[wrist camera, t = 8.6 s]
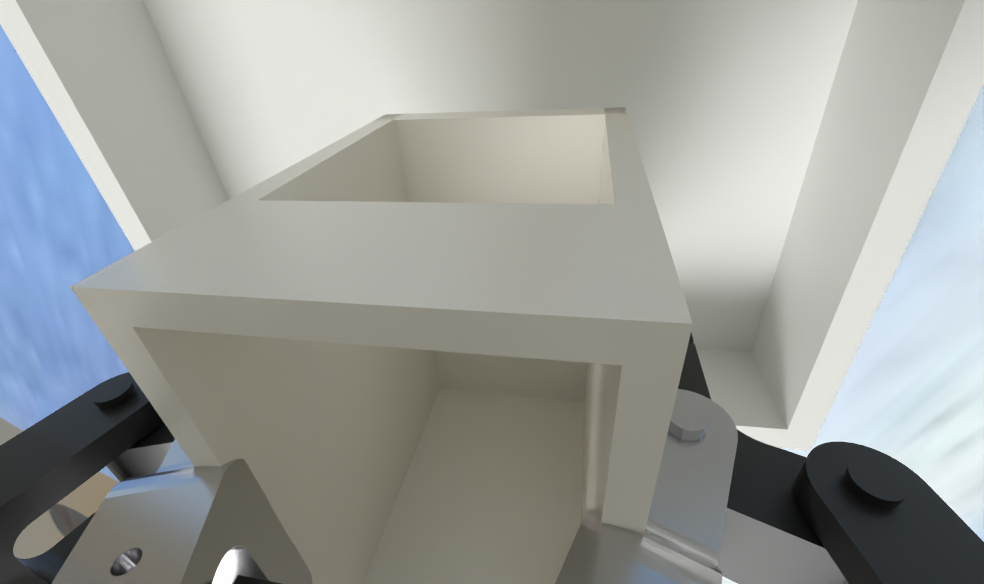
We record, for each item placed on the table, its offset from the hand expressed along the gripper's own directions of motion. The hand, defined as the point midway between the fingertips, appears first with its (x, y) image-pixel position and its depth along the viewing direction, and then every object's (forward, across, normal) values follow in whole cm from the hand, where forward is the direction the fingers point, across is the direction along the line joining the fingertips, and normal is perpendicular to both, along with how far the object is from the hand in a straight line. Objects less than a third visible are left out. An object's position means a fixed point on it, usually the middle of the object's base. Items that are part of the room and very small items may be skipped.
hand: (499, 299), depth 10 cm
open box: (+1, 0, 0) cm, 1 cm away
